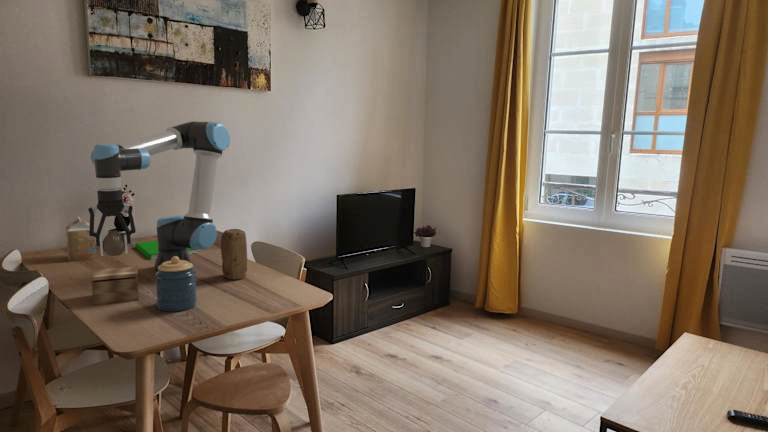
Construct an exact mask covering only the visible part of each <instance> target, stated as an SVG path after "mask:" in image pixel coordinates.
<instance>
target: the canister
mask: <svg viewBox="0 0 768 432" xmlns="http://www.w3.org/2000/svg"><path fill="white" fill-rule="evenodd" d="M193 267H194V264H193V263H189V262H188V261H186V260H179V258H178V257H177V256H174V257H172V259H171V261H166V262H164V263H162V264H161V265H160V266H158V270H159V271H158V272H155V274H154V276H155V277H156V282H155V286H156V290H155V291H156V301H155V302H156V306H157V309H158V310H160V311H162V312H163V311H164V312H170V313H171V312H180V311H181V312H182V311H186V310H190V309H191V308H194V307H195V306H196V305H197V301H198V296H197V279H196V278H195V275H196V273H197V270H196V269H194V268H193Z"/></svg>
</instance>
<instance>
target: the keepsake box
mask: <svg viewBox="0 0 768 432" xmlns="http://www.w3.org/2000/svg"><path fill="white" fill-rule="evenodd" d="M138 277H139V276H138ZM138 277H128V278H117V279H106V280H95V281H91V290H92V292H91V293H92V303H93V304H92V305H93V306H96V305H97V306H98V305H105V304H114V303H115V304H116V303H127V302H134V301H135V302H136V301H139V297H140V296H139V278H138Z"/></svg>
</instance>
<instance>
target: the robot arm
mask: <svg viewBox="0 0 768 432" xmlns="http://www.w3.org/2000/svg"><path fill="white" fill-rule="evenodd" d="M230 143H231V135H230V132H229V130H228V128H227V127H226V126H225V125H224V124H223V123H221V122H217V121H211V120H210V121H197V120H196V121H188V122H185V123H181V124H176V125H174V126H171V127H168V128H166V129H165V130H164V131H162V132H158V133H155V134H151V135H147V136H144V137H140V138H137V139H133V140H129V141H126V142H122V143H118V144H116V143H115V144H113V143H102V144H101V143H100V144H99V143H98V144H95V145H94V147H93V150H92V151H91V153H90V160H91V162H92V164H93V165H94V171H95V172H94V173H95V184H96V189H97V192H96V193H97V204H96V205H95V206H89V207H88V213H89V224H90V231H89V235H90V236H93V237H95V246H96V247H100V248H99V249H100V256H101V257H104V255H105V252H104V249H103V240H104V238H103V235H101V232H102V231H103V226H104V224H105V222H106V218H108V217H109V218H110V217H117V219H118V220H119V223H120V225H121V226H122V228H123V231H124V232H125V233H124V234H123V239H124V241H125V249H124V252H125V255H127V254H129V251H128V250H129V249H128V245H130V244H131V242H132V241H131V239H132V238H131V235H132V234H135V233H136V226H135V221H134V216H133V204H125V203H124V201H123V200H124V199H123V190H122V189H121V188H122V177H121V176H122V175H121V172H126V171H138V170H139V171H140V170H145V169H148V168H149V167H150V165H151V162H152V161H151V156H154V155H157V154H160V153H163V152H166V151H169V150H173V151H177V150H178V151H179V150H181V149H182V150H183V149H192V150H193V153H194V154H195V163H194V168H193V169H194V170H193V176H192V185H191V191H190V197H189V205H188V212H187V213H185V214H184V215H183V214H181V215H173V216H172V215H171V216H164V217H160V218H158V219H157V221H156V238H157V240H156V241H158V254H157V258H156V259H155V261H154V264H153V265H154V271H155V273H157V272H158V271H159V270H158V266H160V265H161V264H162V263H164V262H166V261H171V259H172V257H174V256H177V257H178V258H179V260H186V261H188V262H189V263H192V259H191V257H190V255H189V254H188V252H187V248H190V249H194V250H197V251H205V250H207V249H209V248H211V247H212V246H213V245H214V243H215V242H216V240H217V236H218V230H217V226H216V225H215V224H214V223H213V222H214V219H213V217H212V216H211V207H212V202H213V193H214V187H215V180H216V174H217V173H216V172H217V166H218V165H217V164H218V160H219V159H220V158H221V157H222V156H223V151H225V150H227V148H228V147H229V146H230ZM124 209H125V212H127V213H128V219H129V225H130V229H129V228H128V225H127V223H126V222H125V220H124V217H123V215H122V213H121V212H122V211H123V210H124ZM97 210H98V211H99V212H100V213H101V214H102V215H101V217H100V220H99V223H98V227H97V229H96V232H95V213H97ZM192 264H193V263H192Z"/></svg>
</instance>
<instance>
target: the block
mask: <svg viewBox="0 0 768 432" xmlns="http://www.w3.org/2000/svg"><path fill="white" fill-rule="evenodd" d="M246 234H247V233H246V231H245V230H242V229H239V228H229V229H226V230H224V231H223V233H222V235H221V238H220V252H221V259H222V261H221V262H222V265H221V267H222V270H221V271H222V274H223V276H224V277H225V278H227V279H228V280H234V281H235V280H242V279H244V278H245V277H246V276H247V271H248V247H247V246H248V244H247V235H246Z"/></svg>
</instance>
